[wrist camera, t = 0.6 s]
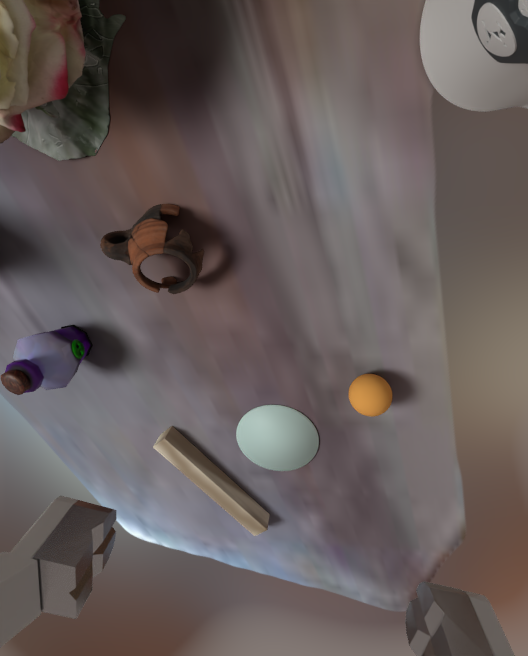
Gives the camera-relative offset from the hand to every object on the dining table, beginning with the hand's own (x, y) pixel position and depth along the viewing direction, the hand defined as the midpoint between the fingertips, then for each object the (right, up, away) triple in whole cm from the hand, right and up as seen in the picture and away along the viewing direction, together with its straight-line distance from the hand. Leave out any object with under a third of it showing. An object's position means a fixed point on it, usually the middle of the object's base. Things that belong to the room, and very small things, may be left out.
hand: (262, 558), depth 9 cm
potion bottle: (-29, +4, +44) cm, 53 cm away
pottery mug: (-13, +17, +36) cm, 42 cm away
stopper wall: (-8, -19, +51) cm, 55 cm away
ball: (+14, -3, +37) cm, 39 cm away
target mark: (+2, -11, +46) cm, 47 cm away
